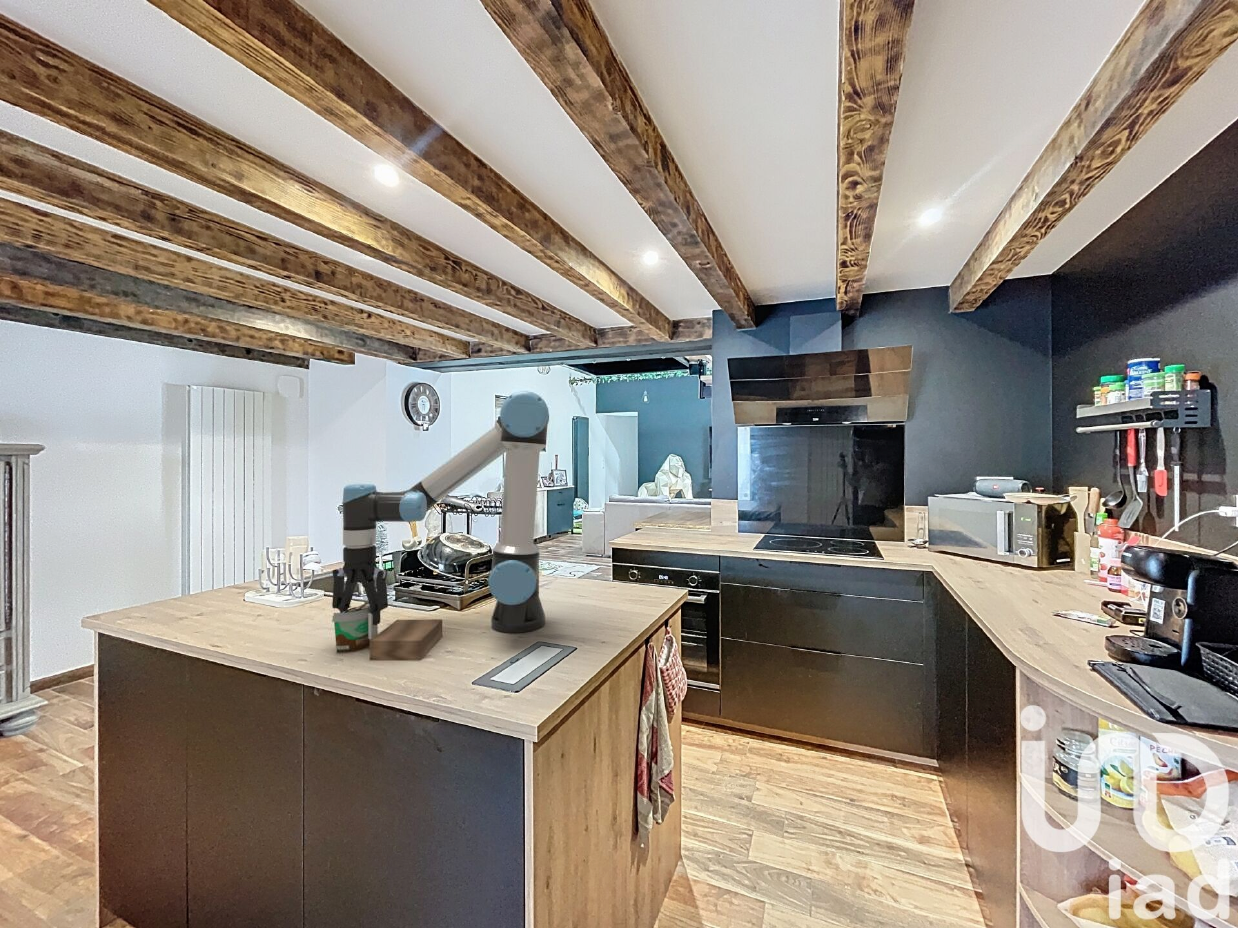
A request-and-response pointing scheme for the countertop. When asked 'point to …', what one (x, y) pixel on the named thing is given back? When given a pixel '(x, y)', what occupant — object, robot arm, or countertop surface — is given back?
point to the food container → (352, 628)
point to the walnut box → (406, 640)
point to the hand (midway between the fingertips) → (360, 636)
